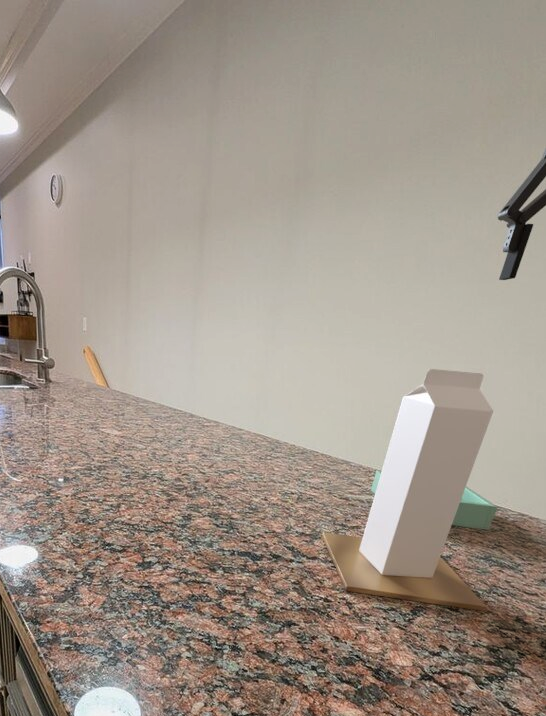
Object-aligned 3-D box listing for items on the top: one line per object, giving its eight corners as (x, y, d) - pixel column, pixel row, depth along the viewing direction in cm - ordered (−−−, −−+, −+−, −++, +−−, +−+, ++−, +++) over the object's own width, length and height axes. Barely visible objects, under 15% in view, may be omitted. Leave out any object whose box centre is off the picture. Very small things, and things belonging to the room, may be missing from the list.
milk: (358, 551, 56) (409, 366, 47) (405, 554, 56) (463, 370, 48) (382, 576, 50) (445, 371, 42) (434, 579, 50) (506, 376, 42)
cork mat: (430, 550, 59) (431, 546, 59) (485, 611, 46) (487, 606, 46) (321, 536, 60) (322, 532, 60) (345, 590, 47) (346, 586, 47)
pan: (448, 499, 80) (456, 479, 79) (488, 530, 68) (498, 506, 66) (370, 489, 82) (376, 469, 80) (395, 517, 69) (402, 495, 68)
